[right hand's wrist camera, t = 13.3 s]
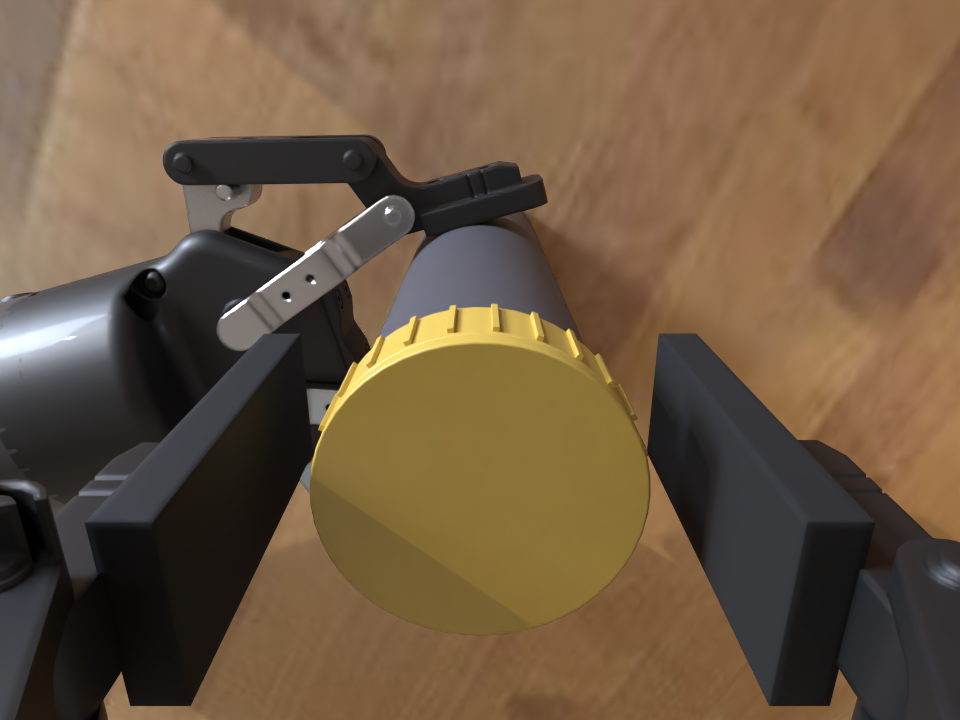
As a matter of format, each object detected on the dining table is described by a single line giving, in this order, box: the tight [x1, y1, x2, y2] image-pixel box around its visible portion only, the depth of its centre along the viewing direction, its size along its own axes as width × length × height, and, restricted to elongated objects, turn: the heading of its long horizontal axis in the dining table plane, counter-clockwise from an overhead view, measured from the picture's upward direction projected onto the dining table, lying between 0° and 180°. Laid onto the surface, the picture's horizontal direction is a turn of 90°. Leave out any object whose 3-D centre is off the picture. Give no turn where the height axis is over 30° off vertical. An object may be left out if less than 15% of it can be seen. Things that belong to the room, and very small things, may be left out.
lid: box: [310, 304, 650, 635], centre depth 11 cm, size 5×5×2 cm
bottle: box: [379, 211, 584, 345], centre depth 19 cm, size 5×5×18 cm
